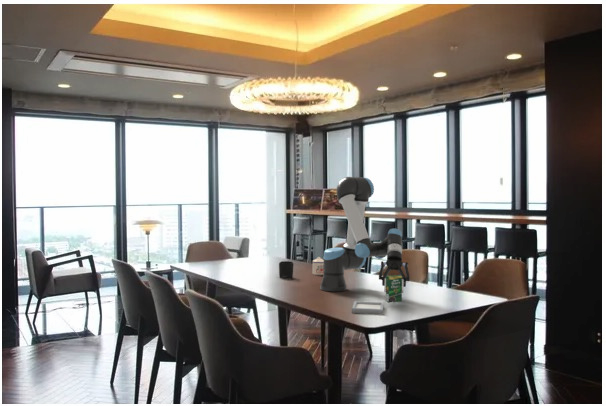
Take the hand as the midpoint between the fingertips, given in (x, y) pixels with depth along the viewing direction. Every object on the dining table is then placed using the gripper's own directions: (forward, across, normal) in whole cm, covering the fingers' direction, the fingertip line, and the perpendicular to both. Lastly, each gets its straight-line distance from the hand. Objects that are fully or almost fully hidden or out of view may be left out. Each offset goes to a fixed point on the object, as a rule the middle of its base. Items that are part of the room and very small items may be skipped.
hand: (393, 291), depth 253 cm
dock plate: (+14, -12, -4) cm, 19 cm away
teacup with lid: (-58, -49, +71) cm, 104 cm away
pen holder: (-44, -69, +57) cm, 100 cm away
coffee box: (+3, 0, +6) cm, 6 cm away
